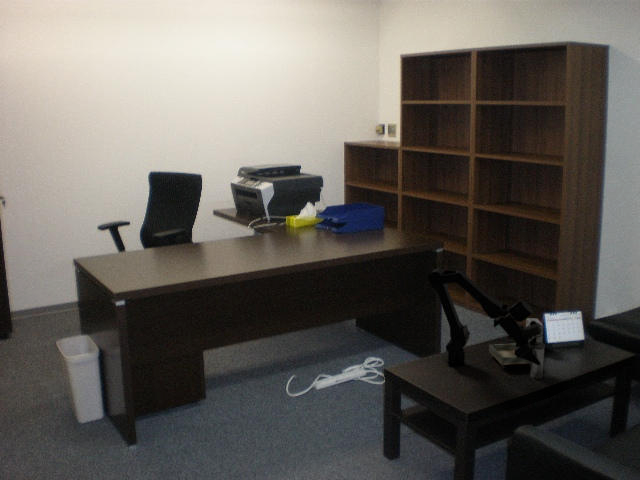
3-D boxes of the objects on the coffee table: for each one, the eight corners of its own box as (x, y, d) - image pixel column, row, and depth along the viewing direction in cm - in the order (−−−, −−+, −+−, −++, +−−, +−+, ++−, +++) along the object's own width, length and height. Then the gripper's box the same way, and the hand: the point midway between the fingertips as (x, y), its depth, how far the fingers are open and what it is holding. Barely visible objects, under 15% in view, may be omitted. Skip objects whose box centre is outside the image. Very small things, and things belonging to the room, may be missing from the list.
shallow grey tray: (501, 370, 256) (502, 357, 254) (488, 356, 269) (489, 344, 268) (535, 368, 257) (536, 356, 256) (521, 354, 271) (522, 343, 269)
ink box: (542, 351, 274) (543, 324, 271) (530, 351, 274) (531, 324, 272) (535, 343, 282) (537, 317, 280) (524, 343, 282) (525, 317, 280)
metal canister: (532, 379, 247) (535, 346, 245) (527, 374, 252) (529, 342, 249) (544, 378, 248) (546, 346, 245) (539, 373, 252) (541, 341, 250)
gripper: (525, 324, 238) (555, 357, 236) (532, 309, 255) (560, 340, 252) (502, 341, 243) (531, 374, 241) (510, 325, 260) (537, 356, 257)
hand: (541, 360), depth 248 cm, fingers open, 8 cm apart
